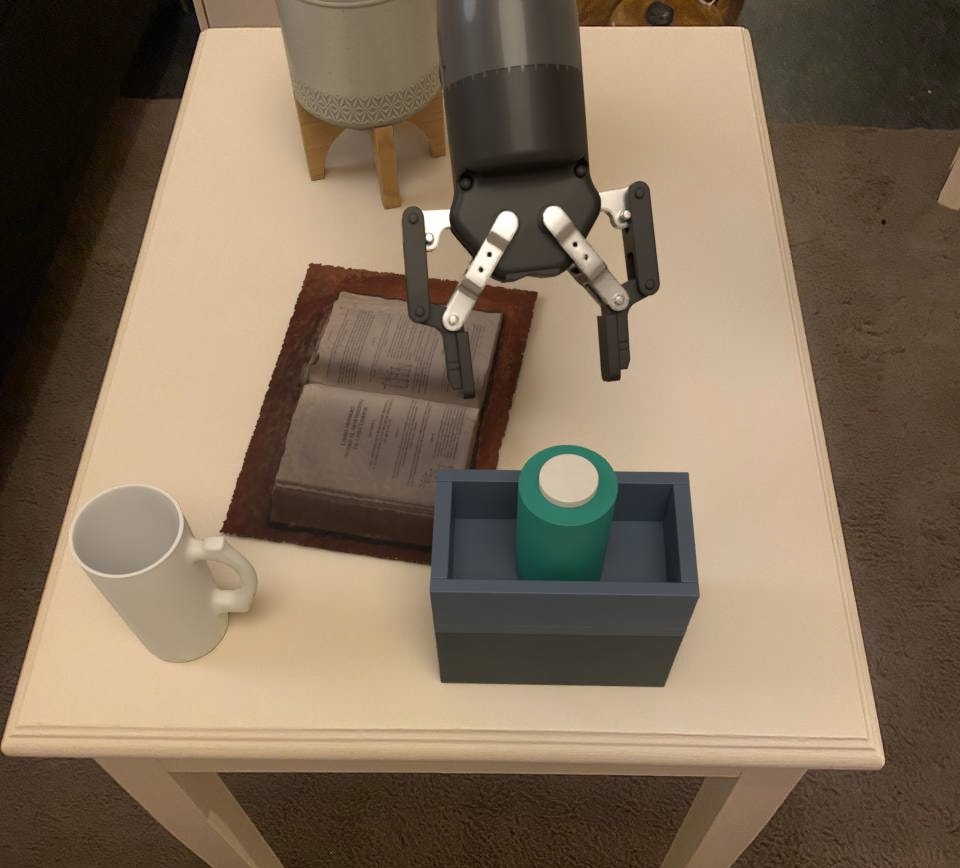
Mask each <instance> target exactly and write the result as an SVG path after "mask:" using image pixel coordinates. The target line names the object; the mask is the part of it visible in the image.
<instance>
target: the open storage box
mask: <svg viewBox="0 0 960 868" xmlns="http://www.w3.org/2000/svg"><path fill="white" fill-rule="evenodd" d="M521 470H522V469H496V470H471V469H437V473H436V491H435V508H434V525H433V542H432V559H431V565H430V580H429V598H430V606H431V613H432V614H431V615H432V622H433V630H434V637H435V638H434V639H435V645H436V651H437V652H436V653H437V662H438V669H439V678H440V683H442V684H483V685H484V684H485V685H487V684H489V685H535V686H536V685H537V686H538V685H539V686H540V685H542V686H589V687H591V686H592V687H595V686H597V687H599V686H600V687H646V688H647V687H648V688H649V687H650V688H664V687H665V686H666V683H667V681H668V678H669V675H670V673H671V670H672V668H673V665H674V662H675V660H676V658H677V655H678V653H679V650H680V647H681V644H682V642H683V640H684V637H685V635H686V632H687V630H688V627H689V624H690V622H691V619H692V617H693V614H694V611H695V609H696V607H697V604H698V601H699V599H700V597H701V593H700V583H699V572H698V561H697V551H696V538H695V528H694V515H693V506H692V495H691V485H690V484H691V483H690V473H689V471H626V470H625V471H623V470H620V471H619V470H618V471H617V470H614V472H615V474H616V477H617V481H618V493H617V498H616V504H615V509H614V514H613V519H612V524H611V529H610V534H609V539H608V544H607V550H606V555H605V560H604V565H603V570H602V575H601V578H600V580H599V581H545V580H519V579H518V576H517V573H516V568H515V560H516V533H517V505H518V481H519V476H520V473H521Z"/></svg>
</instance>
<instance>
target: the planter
mask: <svg viewBox="0 0 960 868" xmlns="http://www.w3.org/2000/svg"><path fill="white" fill-rule="evenodd" d="M275 6H276V12H277V16H278V20H279V27H280V31H281V36H282V37H281V38H282V42H283V47H284V52H285V58H286V62H287V66H288V71H289V77H290V82H291V87H292V94H293V100H294V104H295V108H296V109H295V110H296V115H297V119H298V124H299V128H300V129H299V130H300V135H301V140H302V144H303V149H304V154H305V161H306V165H307V171H308V174H309V177H310V180H311V181H317V180H322V179H323V180H324V179H325V177H326V176H325V164H326V160H327V159H326V158H327V156H328V153H329V150H330V149H331V146H332V145H333V144H334V142H335V140H336V139H337V138H338V137H339V136H340V135H342V133H343V132H345V130H352V131H363V132H364V131H367V132H368V137H369V140H370V145H371V149H372V154H373V157H374V162H375V163H374V164H375V167H376V168H375V169H376V174H377V178H378V184H379V190H380V196H381V202H382V205H383V209H384V210H387V209H392V208H397V207H401V206H402V203H401V194H400V193H401V192H400V183H399V175H398V167H397V166H398V165H397V156H396V148H395V147H396V146H395V136H394V126H397V125H399V124H401V123H404V122H405V121H407V122H409V123H411V124H412V125H414V126H415V127H416V128H418V129H419V130H420V131H421V132H422V133H423V135H424V136H425V138H426V139H427V141H428V147H429V151H430V154H431V156H432V157H433V158H436V157H443V156H446V155H447V151H446V149H447V148H446V132H445V109H444V98H443V89H442V85H441V83H440V79H439V53H438V43H437V0H275Z"/></svg>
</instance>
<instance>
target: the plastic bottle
mask: <svg viewBox="0 0 960 868" xmlns="http://www.w3.org/2000/svg"><path fill="white" fill-rule="evenodd" d="M520 470H521V473H520V476H519V481H518V505H517V533H516V560H515V568H516V573H517V576H518V579H519V580H545V581H599V580H600V578H601V575H602V570H603V565H604V560H605V555H606V550H607V544H608V539H609V534H610V529H611V524H612V519H613V514H614V509H615V504H616V498H617V493H618V481H617V477H616V474H615V472H614V471H615V470H614V468H613V466H612V465H611V464H610V462H608V460H606V458H604V457H603V456H602V455H600V454H599V453H597V452H596V451H594V450H592V449H590V448H587V447H585V446H580V445H576V444H575V445H574V444H560V445H552V446H549V447H547V448H546V447H545V448H544V449H542V450H540V451H538V452H536V453H535V454H534V455H532V456H531V457H530V458H528V460H527V461H526V462H525V463H524V465H523V467H522V469H520Z"/></svg>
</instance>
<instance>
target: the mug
mask: <svg viewBox="0 0 960 868" xmlns="http://www.w3.org/2000/svg"><path fill="white" fill-rule="evenodd" d="M67 536H68V537H67V539H68V540H67V541H68V546H69V551H70V553H71V555H72V557H73V559H74V560H75V562H76V563H77V564H78V565H79V567H80V568H81V570H82V571H83V572H84V573H85V575H86V576H87V577H88V578H89V580H90V581H91V582H92V583H93V585H94V586H95V587H96V588H97V590H98V591H99V592H100V594H102V596H103V597H104V599H106V601H107V602H108V603H109V604H110V606H111V607H112V609H113V610H114V611H115V612H116V613H117V614H118V616H119V618H121V620H123V622H124V623H125V625H126V626H127V627H128V628H129V629H130V631H131V632H132V633H133V635H135V637H136V638H137V639H138V640H139V641H140V643H141V644H142V645H143V646H144V647H145V649H146V650H147V652H149V653H150V654H151V655H153V656H154V657H156V658H158V659H159V660H163V661H166V662H170V663H185V662H191V661H194V660H197V659H199V658H201V657H203V656H205V655H207V654H209V653H210V652H211V651H212V650H213V649H215V648H216V647H217V646H218V645H219V644H220V642H221V641H222V639H223V638H224V636H225V634H226V631H227V629H228V626H229V625H228V624H229V613H241V614H242V613H244V614H245V613H247V612H248V611H249V610H250V609H251V606H252V604H253V601H254V598H255V595H256V593H257V589H258V584H259V579H258V574H257V571H256V569H255V567H254V566H253V564H252V563H251V562H250V561H249V559H247V558H246V556H244V554H242V553H241V552H240V551H239V550H238V549H236V548H235V547H234V546H233V545H231V544H230V543H229V542H228V541H227V540H226V538H225V536H223V535H218V536H217V535H215V536H207V537H205V539H199V538H196V537H195V535H194V533H193V530H192V528H191V526H190V524H189V522H188V520H187V518H186V516H185V514H184V513H183V510H182V508H181V506H180V504H179V502H178V501H177V500H176V498H175V497H173V495H172V494H171V493H169V492H167V491H166V490H165V489H163V488H160V487H158V486H156V485H153V484H149V483H148V484H147V483H138V482H137V483H133V482H132V483H125V484H119V485H116V486H112V487H110V488H107V489H105V490H102V491H101V492H99V493H97V494H96V495H94V496H93V497H91V498H90V499H89V500H87V502H85V503H84V504H83V505H81V507H80V509H79V510H78V511H77V513H76V514H75V515H74V516H73V519H72V521H71V523H70V526H69V530H68V535H67ZM207 561H214V562H218V563H221V564H223V565H226V566H227V567H229V568H231V569H232V570H233V571H234V572H235V573H236V574H237V575H238V576H239V579H240V583H241V585H240V586H239V587H237V588H236V589H220V588H219V586H218V584H217V581H216V579H215V578H214V575H213V574H212V571H211V569H210V567H209V564H208V563H207Z"/></svg>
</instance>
